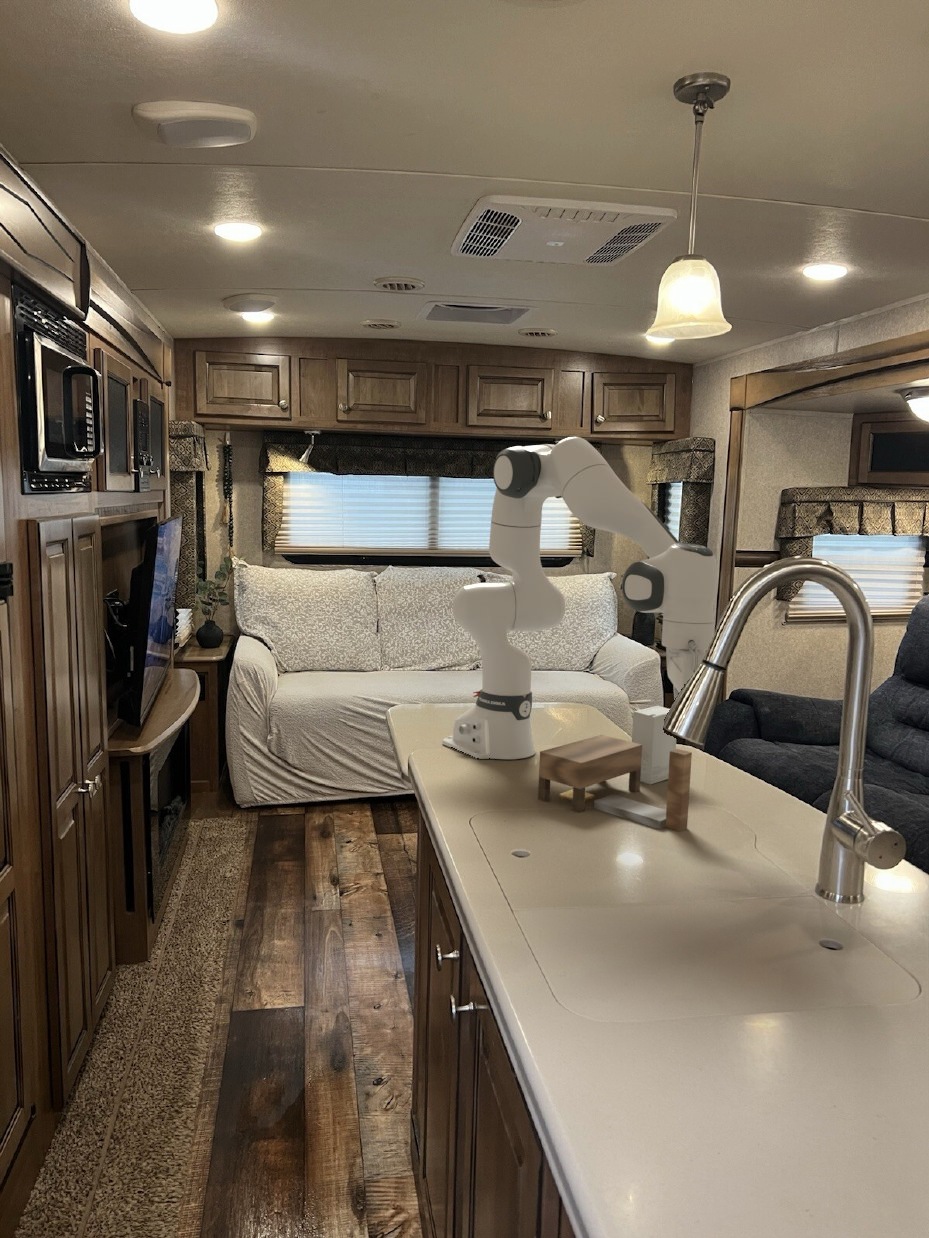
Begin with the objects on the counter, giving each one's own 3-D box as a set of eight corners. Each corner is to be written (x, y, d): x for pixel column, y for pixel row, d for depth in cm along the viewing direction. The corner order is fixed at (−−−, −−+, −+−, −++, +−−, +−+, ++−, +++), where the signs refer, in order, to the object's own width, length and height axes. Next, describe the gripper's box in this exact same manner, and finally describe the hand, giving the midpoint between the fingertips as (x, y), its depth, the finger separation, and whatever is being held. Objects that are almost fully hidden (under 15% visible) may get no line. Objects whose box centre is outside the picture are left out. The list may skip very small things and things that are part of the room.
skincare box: (653, 771, 199) (657, 704, 197) (675, 778, 194) (680, 710, 192) (627, 778, 194) (631, 709, 192) (650, 785, 189) (654, 715, 187)
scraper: (692, 825, 166) (697, 750, 164) (674, 833, 162) (679, 756, 160) (612, 801, 178) (616, 731, 176) (594, 808, 174) (597, 736, 172)
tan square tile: (558, 799, 180) (558, 794, 180) (573, 793, 184) (573, 788, 184) (579, 805, 177) (579, 800, 177) (594, 799, 181) (594, 794, 181)
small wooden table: (537, 799, 178) (539, 751, 177) (599, 778, 192) (601, 734, 191) (579, 812, 171) (581, 762, 170) (639, 790, 185) (642, 744, 184)
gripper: (717, 646, 150) (711, 729, 152) (696, 629, 170) (692, 702, 172) (677, 645, 150) (673, 727, 152) (662, 628, 171) (658, 701, 172)
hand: (683, 714), depth 162 cm, fingers open, 8 cm apart
